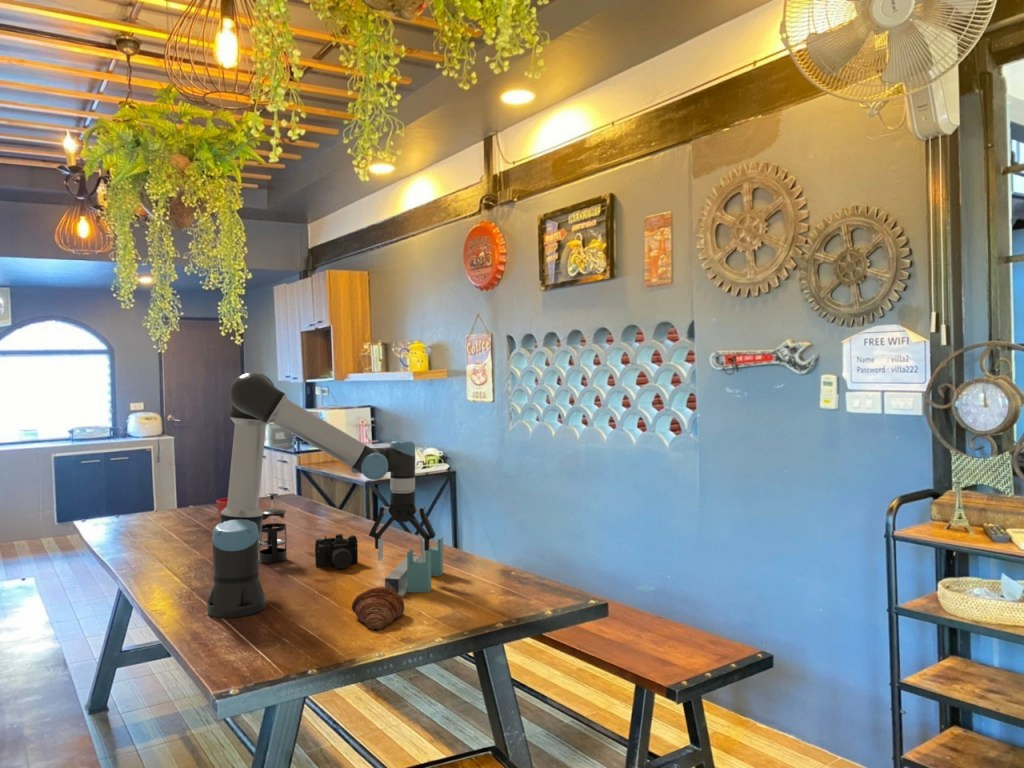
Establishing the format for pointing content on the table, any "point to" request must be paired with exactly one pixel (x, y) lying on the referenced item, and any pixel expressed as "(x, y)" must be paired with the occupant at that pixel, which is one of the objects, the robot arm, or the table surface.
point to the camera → (336, 551)
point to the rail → (399, 575)
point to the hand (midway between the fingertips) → (402, 560)
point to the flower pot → (221, 504)
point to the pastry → (378, 607)
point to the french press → (273, 538)
